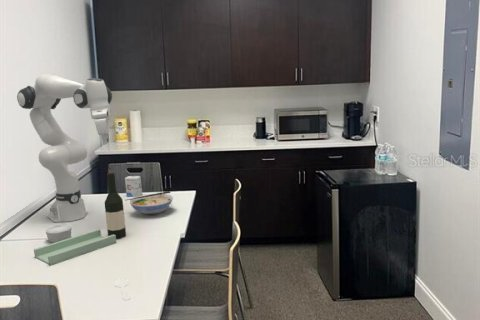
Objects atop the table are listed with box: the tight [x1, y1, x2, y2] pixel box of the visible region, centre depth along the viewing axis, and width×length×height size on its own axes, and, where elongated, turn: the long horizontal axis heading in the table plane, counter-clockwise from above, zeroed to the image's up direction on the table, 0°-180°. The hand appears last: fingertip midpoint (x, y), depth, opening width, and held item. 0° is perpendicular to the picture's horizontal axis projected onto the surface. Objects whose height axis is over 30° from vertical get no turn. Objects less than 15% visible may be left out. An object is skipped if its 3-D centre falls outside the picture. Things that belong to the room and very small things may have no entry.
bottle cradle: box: [33, 228, 117, 266], centre depth 202 cm, size 14×30×4 cm, turn 137°
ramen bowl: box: [126, 190, 174, 216], centre depth 249 cm, size 25×23×8 cm
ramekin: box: [45, 224, 72, 244], centre depth 216 cm, size 11×11×5 cm
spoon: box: [113, 277, 131, 301], centre depth 163 cm, size 5×18×1 cm, turn 22°
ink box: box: [124, 175, 143, 198], centre depth 286 cm, size 9×5×12 cm, turn 81°
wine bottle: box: [104, 171, 127, 240], centre depth 214 cm, size 8×8×30 cm
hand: (106, 143), depth 219 cm, fingers open, 8 cm apart
